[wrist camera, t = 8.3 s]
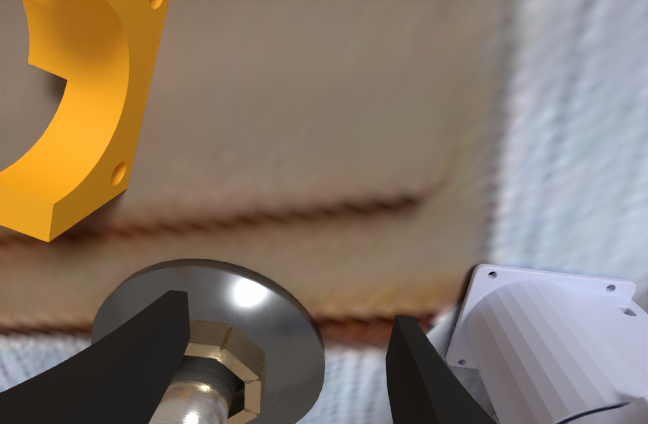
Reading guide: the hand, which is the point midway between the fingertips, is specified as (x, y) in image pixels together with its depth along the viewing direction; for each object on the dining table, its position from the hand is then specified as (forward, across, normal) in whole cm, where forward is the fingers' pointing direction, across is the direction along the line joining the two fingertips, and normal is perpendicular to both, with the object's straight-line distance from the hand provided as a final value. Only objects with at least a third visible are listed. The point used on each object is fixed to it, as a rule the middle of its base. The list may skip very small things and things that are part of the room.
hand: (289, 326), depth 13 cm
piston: (+8, +6, +12) cm, 16 cm away
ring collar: (+9, +6, +12) cm, 16 cm away
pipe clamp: (+10, +11, -7) cm, 16 cm away
